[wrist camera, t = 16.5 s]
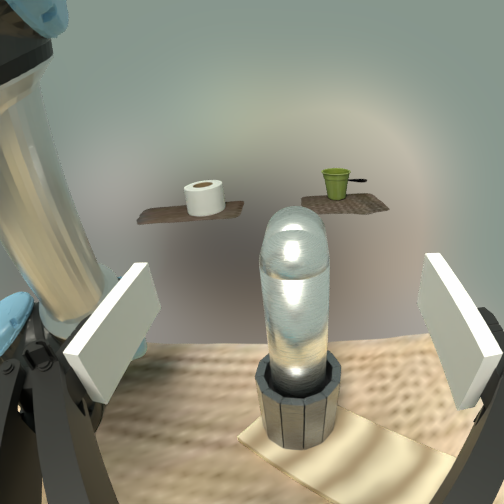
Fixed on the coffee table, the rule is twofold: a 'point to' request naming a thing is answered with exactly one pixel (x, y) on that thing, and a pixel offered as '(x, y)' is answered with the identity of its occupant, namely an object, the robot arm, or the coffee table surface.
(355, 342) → the coffee table surface
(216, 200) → the toilet paper roll
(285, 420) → the grey wooden bucket
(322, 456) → the birch board
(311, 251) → the polished capsule rod
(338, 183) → the plant pot
